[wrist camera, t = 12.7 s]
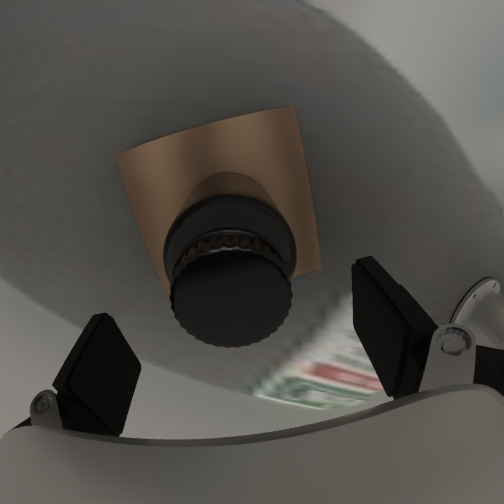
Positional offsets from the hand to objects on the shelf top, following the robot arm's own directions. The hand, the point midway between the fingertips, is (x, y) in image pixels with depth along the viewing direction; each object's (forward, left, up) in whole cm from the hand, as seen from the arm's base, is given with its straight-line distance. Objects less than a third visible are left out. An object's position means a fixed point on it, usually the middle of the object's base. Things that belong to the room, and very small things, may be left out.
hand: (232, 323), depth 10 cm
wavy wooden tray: (0, 0, -16) cm, 16 cm away
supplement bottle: (0, 0, -13) cm, 13 cm away
